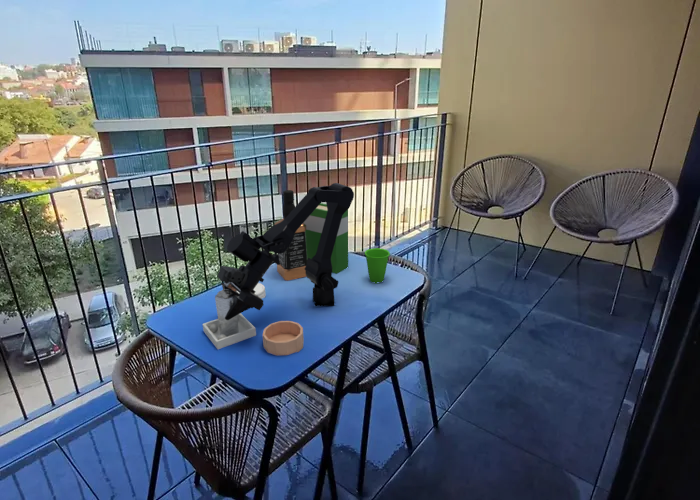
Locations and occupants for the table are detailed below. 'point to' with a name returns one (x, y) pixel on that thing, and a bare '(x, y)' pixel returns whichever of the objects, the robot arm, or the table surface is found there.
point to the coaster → (259, 290)
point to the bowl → (283, 338)
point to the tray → (244, 333)
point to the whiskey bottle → (293, 246)
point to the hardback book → (314, 233)
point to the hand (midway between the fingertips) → (222, 315)
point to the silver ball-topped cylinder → (223, 305)
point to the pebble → (213, 328)
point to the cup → (377, 263)
